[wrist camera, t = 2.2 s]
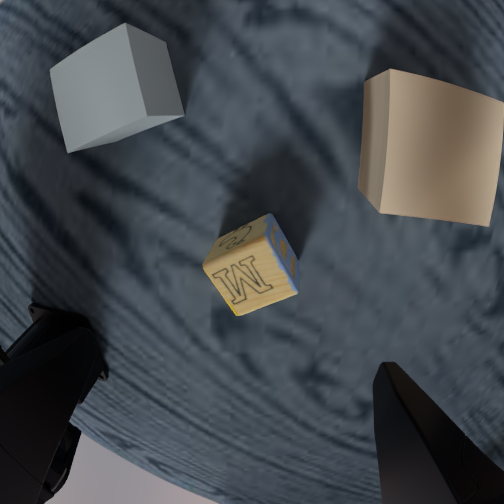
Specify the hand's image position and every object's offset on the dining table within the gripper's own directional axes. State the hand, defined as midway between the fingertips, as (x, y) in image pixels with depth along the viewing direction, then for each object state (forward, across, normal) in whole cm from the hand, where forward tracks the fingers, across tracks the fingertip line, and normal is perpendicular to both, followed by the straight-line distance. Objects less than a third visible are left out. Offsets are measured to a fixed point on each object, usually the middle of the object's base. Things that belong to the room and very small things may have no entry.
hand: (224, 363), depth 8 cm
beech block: (+8, -7, -6) cm, 12 cm away
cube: (+8, +6, -8) cm, 13 cm away
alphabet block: (+8, 0, 0) cm, 8 cm away
